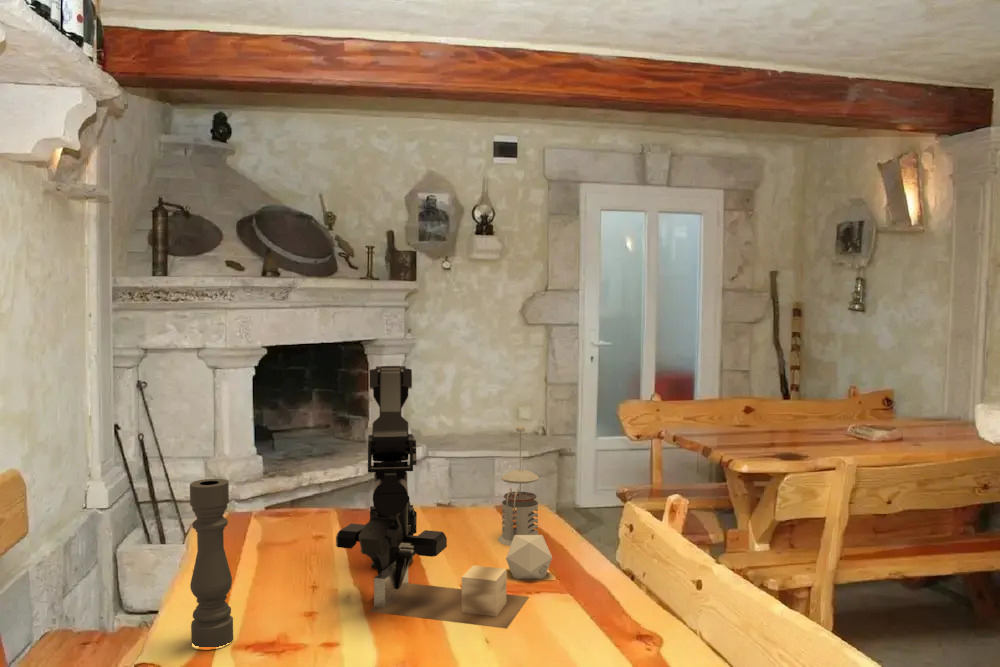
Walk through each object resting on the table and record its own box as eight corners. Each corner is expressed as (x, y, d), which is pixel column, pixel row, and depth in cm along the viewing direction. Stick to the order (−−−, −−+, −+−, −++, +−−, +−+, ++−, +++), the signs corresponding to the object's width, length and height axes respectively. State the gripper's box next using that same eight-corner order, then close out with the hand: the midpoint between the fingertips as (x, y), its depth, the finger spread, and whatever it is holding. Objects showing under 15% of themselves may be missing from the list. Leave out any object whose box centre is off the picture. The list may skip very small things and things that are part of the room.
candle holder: (197, 634, 132) (194, 478, 131) (237, 632, 133) (234, 477, 131) (186, 651, 126) (182, 488, 124) (228, 649, 126) (225, 487, 125)
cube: (461, 612, 139) (461, 577, 138) (473, 599, 144) (473, 565, 144) (496, 616, 137) (496, 580, 137) (506, 603, 143) (506, 568, 142)
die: (537, 594, 151) (564, 546, 153) (494, 568, 152) (522, 520, 155) (534, 594, 159) (560, 548, 162) (494, 569, 160) (521, 524, 163)
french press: (547, 535, 184) (548, 423, 183) (532, 551, 173) (533, 432, 172) (505, 531, 187) (505, 421, 186) (488, 546, 176) (488, 429, 175)
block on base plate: (369, 615, 139) (368, 581, 139) (402, 586, 153) (402, 555, 152) (506, 633, 132) (506, 597, 132) (529, 601, 146) (529, 568, 145)
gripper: (319, 507, 139) (321, 598, 140) (423, 516, 134) (424, 611, 135) (350, 491, 150) (351, 576, 151) (447, 499, 145) (448, 587, 146)
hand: (391, 587), depth 145 cm, fingers closed on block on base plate, 2 cm apart
